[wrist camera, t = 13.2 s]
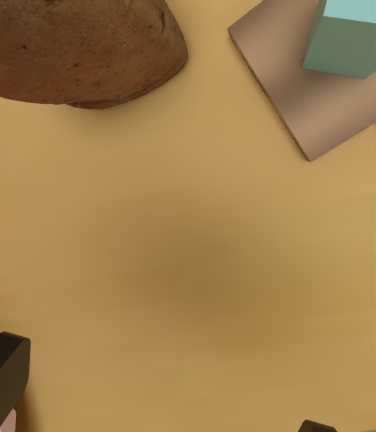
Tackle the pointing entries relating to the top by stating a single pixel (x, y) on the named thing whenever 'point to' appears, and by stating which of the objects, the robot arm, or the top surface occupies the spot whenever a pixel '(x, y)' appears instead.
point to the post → (343, 38)
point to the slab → (302, 77)
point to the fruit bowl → (9, 422)
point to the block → (86, 50)
